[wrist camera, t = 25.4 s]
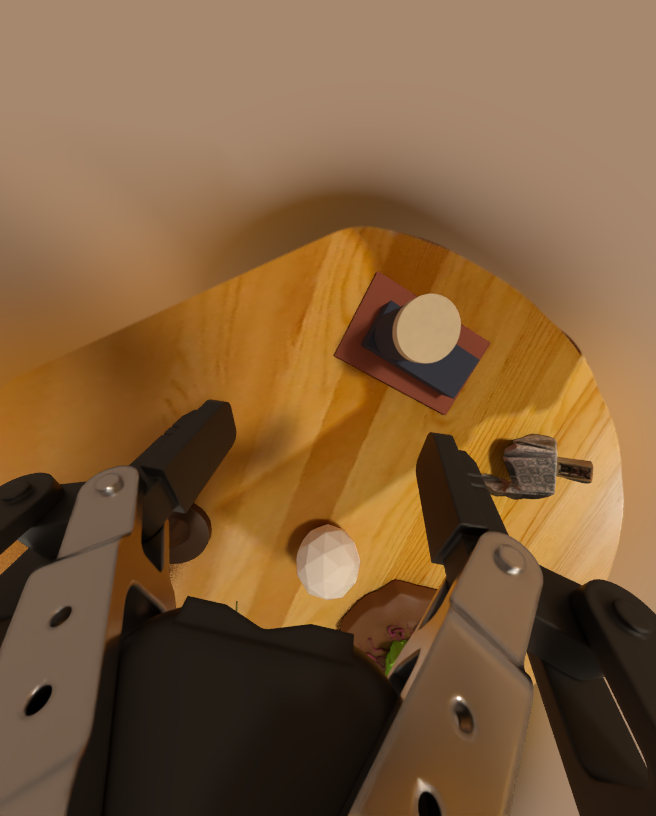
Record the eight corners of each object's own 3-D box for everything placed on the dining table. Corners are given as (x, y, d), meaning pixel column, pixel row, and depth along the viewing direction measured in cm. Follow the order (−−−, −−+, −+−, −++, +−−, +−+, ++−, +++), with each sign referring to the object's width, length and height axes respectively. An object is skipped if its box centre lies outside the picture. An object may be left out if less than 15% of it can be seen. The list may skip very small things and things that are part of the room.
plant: (384, 562, 35) (420, 657, 24) (480, 607, 39) (547, 706, 28) (313, 655, 38) (316, 776, 27) (408, 688, 42) (444, 806, 31)
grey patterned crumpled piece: (479, 461, 29) (610, 445, 25) (463, 433, 35) (566, 416, 31) (486, 512, 31) (606, 506, 27) (470, 478, 37) (566, 468, 33)
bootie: (359, 345, 27) (384, 342, 19) (383, 303, 26) (421, 279, 18) (441, 395, 30) (498, 414, 21) (465, 358, 29) (535, 361, 20)
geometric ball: (323, 511, 35) (344, 512, 28) (354, 559, 34) (384, 573, 27) (279, 548, 32) (291, 560, 25) (312, 603, 31) (334, 632, 24)
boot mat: (334, 355, 28) (334, 355, 27) (376, 272, 26) (377, 271, 26) (443, 414, 31) (445, 415, 30) (488, 342, 29) (490, 342, 29)
